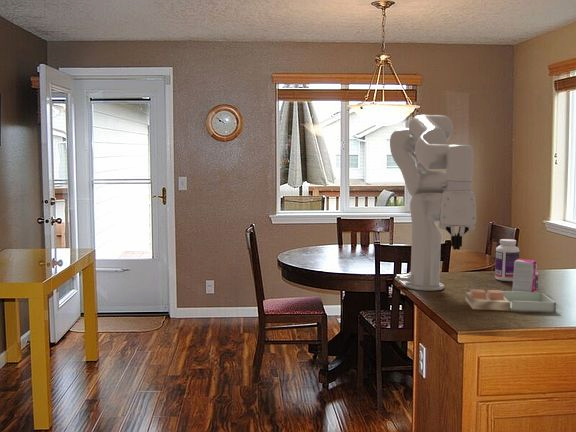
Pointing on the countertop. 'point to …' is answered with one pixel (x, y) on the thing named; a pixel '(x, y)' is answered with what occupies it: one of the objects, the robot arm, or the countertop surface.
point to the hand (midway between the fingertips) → (456, 248)
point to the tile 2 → (495, 294)
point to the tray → (530, 302)
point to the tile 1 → (477, 293)
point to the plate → (487, 303)
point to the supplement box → (524, 275)
